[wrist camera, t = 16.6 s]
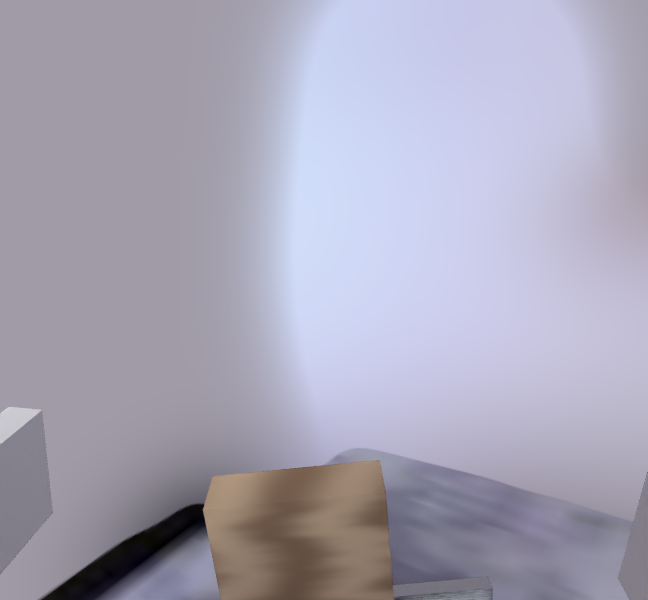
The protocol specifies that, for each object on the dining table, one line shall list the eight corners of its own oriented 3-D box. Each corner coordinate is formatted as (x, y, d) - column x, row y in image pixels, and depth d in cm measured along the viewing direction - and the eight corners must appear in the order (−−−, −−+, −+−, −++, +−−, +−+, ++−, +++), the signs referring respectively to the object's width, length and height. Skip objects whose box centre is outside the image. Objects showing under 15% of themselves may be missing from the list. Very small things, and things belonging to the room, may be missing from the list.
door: (392, 634, 37) (378, 456, 32) (400, 682, 33) (385, 492, 29) (246, 647, 37) (214, 472, 33) (240, 697, 34) (203, 509, 29)
